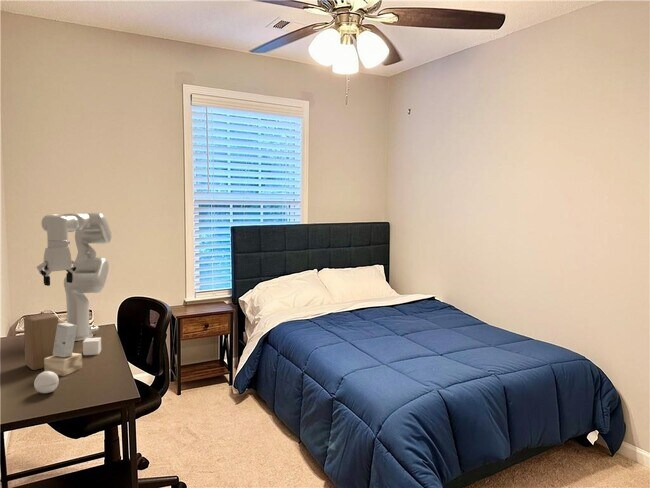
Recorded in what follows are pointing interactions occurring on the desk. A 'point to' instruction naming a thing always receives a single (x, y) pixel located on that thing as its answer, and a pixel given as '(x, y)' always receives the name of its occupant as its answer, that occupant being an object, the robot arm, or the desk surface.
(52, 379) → the white ellipsoid
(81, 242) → the robot arm
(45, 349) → the block
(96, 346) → the cream white cube
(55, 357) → the beech block
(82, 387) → the desk surface
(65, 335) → the skincare box
